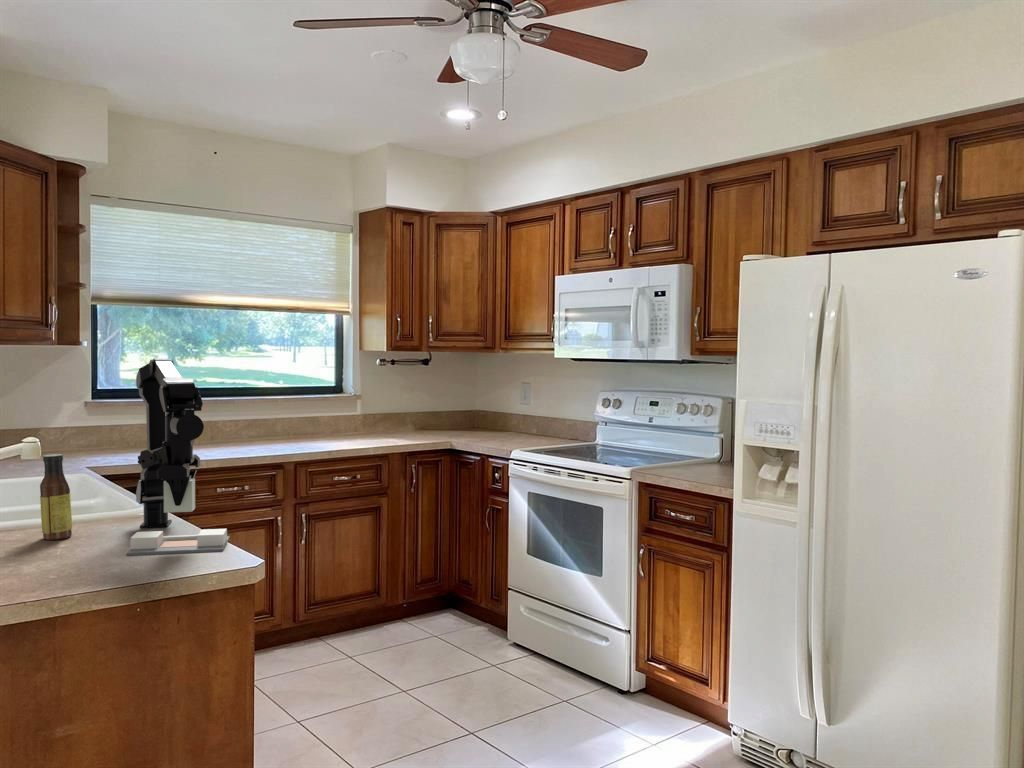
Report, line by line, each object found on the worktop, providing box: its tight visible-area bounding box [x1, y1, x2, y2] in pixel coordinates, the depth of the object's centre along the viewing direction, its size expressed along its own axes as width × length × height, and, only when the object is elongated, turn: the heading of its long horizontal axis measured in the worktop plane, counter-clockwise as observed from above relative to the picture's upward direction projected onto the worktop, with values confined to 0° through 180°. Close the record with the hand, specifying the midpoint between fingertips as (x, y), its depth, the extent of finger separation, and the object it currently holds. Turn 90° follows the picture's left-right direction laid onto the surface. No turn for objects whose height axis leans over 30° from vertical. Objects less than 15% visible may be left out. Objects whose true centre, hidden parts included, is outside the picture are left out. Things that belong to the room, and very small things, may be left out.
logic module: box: [164, 477, 196, 514], centre depth 181 cm, size 4×6×7 cm, turn 103°
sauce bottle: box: [39, 453, 73, 541], centre depth 188 cm, size 7×6×20 cm
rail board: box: [125, 528, 230, 556], centre depth 181 cm, size 12×20×3 cm, turn 103°
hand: (179, 503), depth 181 cm, fingers closed on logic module, 4 cm apart
